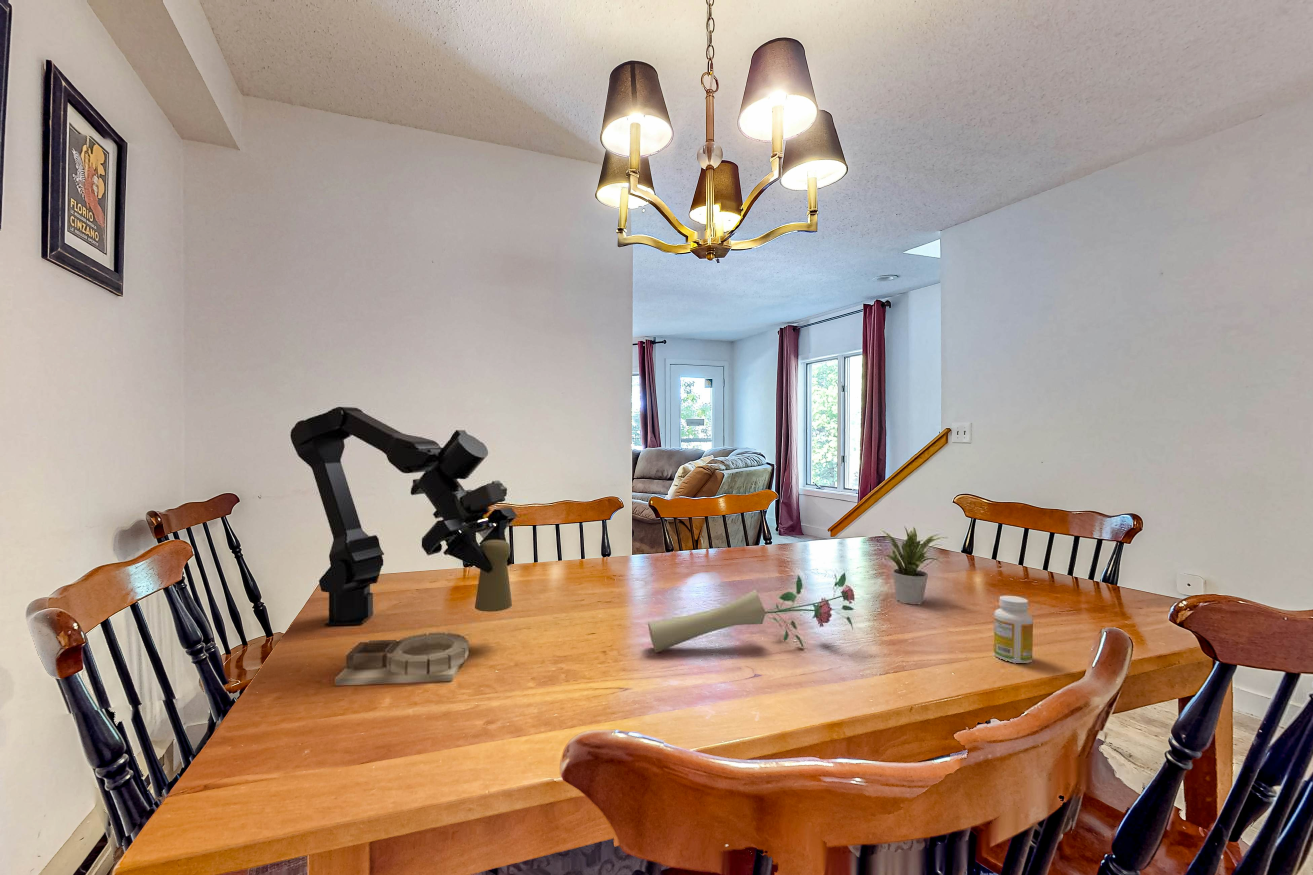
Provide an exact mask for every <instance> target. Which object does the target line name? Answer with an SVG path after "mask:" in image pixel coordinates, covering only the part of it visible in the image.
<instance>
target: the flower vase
mask: <svg viewBox="0 0 1313 875" xmlns="http://www.w3.org/2000/svg"><path fill="white" fill-rule="evenodd" d="M834 577H835V582H834V586H833V588H832V589H833V593H834V594H833V595H835V594H836V591H837V589H838V588H843V587H844V586H845V587H844V588H843V589H842V591H840V595H839V596H836V597H835V596H834V597H832V598H829V599H826V597H821V600H820V601H818V602H813V603H807V604H801V605H797V606H794V604H795V602H796V598H797V596H799V595H800V594H801V593H802V590H803V580H802V578H801V577H800V575H799V574H797V579H796V582H795V585H796V586H795V588H796V590H795V593H794V592H792V591H787V592H785V593H782V595H780V596H779V599H780V600H782V601H783V602H782V603H781V604H780V607H779V605H778V603H777V602H776V603H775V606H776V607H775V608H772V609H769V610H765V607H764V605H763V604H762V601H761V599H760V596H759V594H758V592H757V589H754V590H752V591H750V592H749V593H746V594H745V595H743V596H742V597H740V598H738V599H736V600H733V601H732V602H729V603H728V604H727V603H726V604H724V605H721V606H718V607H714V608H711V609H707V610H703V611H700V612H695V613H692V614H687V615H682V616H675V617H670V618H667V619H660V620H656V621H649V622H648V624H647V627H648V631H649V636H650V640H651V644H652V646H653V651H654V652H655V654H657V653H660V652H661V651H665V650H667V649H670V648H672V647H674V646H677V645H680V644H682V643H684V642H686V641H690V640H692V639H694V638H697V637H700V636H703V635H706V634H710V633H712V632H716V631H719V630H723V629H726V628H730V627H735V626H742V625H743V626H744V625H746V626H747V625H748V626H749V625H763V623H764V620H765V618H766V617H767V618H769V619H770V617H768V615H767V614H775V615H777V616H778V617H779V618H781V620H782V622H784V624H785V632H784V635H783V640H784V642H786V641H787V640H788V638H789V636H790V635H789V634H790V633H792V631H791V630H790V628H789V626H788V624H789V622H787V621H785V620H784V619H783V618H782V617H781V616H780V615H779V614H778V613H789V612H814V614H813V616H812V618H811V619H815V620H816V621H817V625H819V626H818V627H819V628H821V627H822V628H824V624H828V623H830V621H831V618H832V616H833V615H832V613H831V612H832V611H834V612H835V613H836V614H838V615H839V616H841V617H843V618H844V619H846V620H847V622H848V623H849V624H850V626H851V629H852V630H854V627H853V623H852V620H851V617H849V616H847V617H845V616H843V615H842V614H840V613H839V612H837V610H836V609H834V608H832V607H831V603H830V601H833V600H837V599H840V598H842V602H845V601H846V602H848V604H849V605H842V607H841V608H840V609H839V611H854V610H855V608H853V607H852V606H850V604H853V602H855V593H854V592H855V591H854V589H853V588H852V587H851V586H849V585H848V584H846V580H847V577H846V572H843V573H842V574H841V575H840V577H839V579H838V578H837V575H836V574H834ZM837 580H838V581H837ZM835 587H836V589H835ZM784 602H791V603H792V604H791V606H790V607H787V608H786V607H785V608H782V609H781V607H782V605H783V604H784ZM808 606H813V609H812V608H811V609H808V608H803V607H808ZM775 609H776V610H775ZM771 619H772V620H774V621H775V622H777V623H778V625H779V626H780V628H781V629H782V625H781V623H780V622H779V621H778V619H777V618H776V617H775V616H773V617H771ZM790 625H791V626H792V628H793V629H795V630H796V631H797V630H798V627H797V624H796V622H795V620H791V622H790ZM788 630H789V631H788ZM789 632H790V633H789ZM793 636H794V637H795V638H796V640H798V642H799V644H800V645H801V647H803V648H802V650H803V649H804V650H805V647H804V644H803V641H802V638H800V636H799V635H798V634H797V635H796V634H793ZM783 640H782V641H783Z"/></svg>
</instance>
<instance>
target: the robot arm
mask: <svg viewBox="0 0 1313 875" xmlns="http://www.w3.org/2000/svg"><path fill="white" fill-rule="evenodd" d="M351 436H353V437H354V438H356V439H359V440H361V441H362V442H364V443H366V444H368V445H370V446H371V447H373V448H374V449H377V450H379V451H380V452H382V454H385V455H386V458H387V461H388V462H389V463H390V464H391V465H392V466H393V467H394V468H396V469H397V470H398V471H399V472H401V473H402V474H416V473H422V475H421V476H420V477H419V478H414V479H412V486H411V488H410V495H411V496H417V495H423V494H424V495H425V497H426V498H427V499H428V501H429V502H430V503H431V505H432V506H433V507H434V509H435V511H434V512H433V513H432V516H433V517H434V519H436V522H435V523H434V524H433V525H432V526H431V528H429V530H428V531H427V532H426V533H425V534H424V536H422V538H421V548H422V549H423V551H424V552H425V554H426V556H431V555H435V554H439V553H441V552H442V554H444V555H445V556H451V557H453V558H456V559H458V560H460V561H462V562H465V563H466V564H469V565H471V566H472V567H475V568H476V569H479V570H480V569H481V570H483V571H485V572H487V573H490V572H491V571H492V570H493V567H492V565H491V563H490V561H489V560H488V558H487V557H486V555H485V553H484V552H483V550H482V549H481V547H480V545H481V543H483V542H484V541H488V540H503V541H506V542H507V539H506V538H507V537H506V534H505V532H506V529H507V528H508V527H509V526H510V525H511V524H512V523H513V522H514V521H515V519H517V518H518V514H517V513H516V512H515V510H514V509H513V507H507V506H503V507H499V508H494V509H493V510H492V511H491V509H490V507H492V506H494V505H497V504H498V503H503V502H505V501H506V497H507V494H508V492H507V491H508V488H507V487H506V486H505V485H504V484H503V483H502V482H501V481H500V480H492V481H491V482H489V483H487V484H483V485H481V486H479V487H477V488H475V489H465V487H463V485H462V484H461V483H460V481H459V480H467V479H468V478H469V477H470V476H471V475H472V474H473V473H474V472H475V471H476V469H477V468H478V467H479V466H480V465H481V464H482V462H483V461H484V460H485V459H486V458H487V457H488V455H489V451H488V447H487V446H486V445H485V443H484V442H483V441H480V439H477V438H476V437H475V436H473V435H470V434H468V433H467V431H466V430H465V429H462V430H461V429H456V430H455V431H454V432H453V433H452V435H451V436H450V438H449V439H448V441H447V442H446V443H445V444H444V446H443V447H441V445H440V444H439V443H438V442H436V441H435V440H433V439H429V438H425V437H423V436H417V435H410V434H406V433H403V432H401V431H399V430H397V429H396V428H393V427H391V426H389V425H388V424H386V423H384V422H382V421H380V420H378V419H376V418H374V417H373V416H371V415H369V414H367V413H365V412H364V411H363V410H362V409H360V408H358V407H353V406H351V407H350V406H337V407H334V408H331V409H330V410H328V411H326V412H324V413H320V414H318V415H314V416H312V417H308V418H306V419H303V420H299V421H297V422H296V423H295V425H294V427H292V429H291V430H290V440H291V444H292V446H293V448H294V450H295V452H296V455H297V457H299V458H300V459H301V460H302V461H304V463H305V464H307V466H309V468H311V470H312V473H313V477H314V480H315V483H316V486H317V489H318V493H319V497H320V499H321V502H322V506H323V509H324V512H325V515H326V518H327V522H328V525H329V528H330V532H331V535H332V538H333V540H332V544H331V547H330V551H329V555H328V559H329V564H330V566H329V568H327V570H326V571H325V572H324V573H323V575H322V576H321V577H320V578H319V580H318V583H319V587H320V590H321V592H323V593H328V619H327V620H326V621H325V622H324V626H347V625H348V626H349V625H362V624H364V622H366V621H367V620H368V619H369V618H370V617H371V616H373V615H374V593H373V592H371V585H372V584H373V585H374V584H377V583H378V580H379V578H380V574H381V572H382V571H381V570H382V567H383V566H384V557H383V556H384V555H385V552H384V551H383V550H382V547H381V544H380V538H379V537H378V536H377V535H376V534H373V535H368V534H367V533H366V532H365V531H364V530H363V528H362V525H361V524H362V523H361V521H360V518H359V514H358V512H357V508H356V505H355V502H354V499H353V497H352V496H353V495H352V494H351V493H352V492H351V491H350V490H351V489H350V487H349V483H348V480H347V476H346V474H345V470H344V467H343V465H342V461H341V460H342V457H343V453H344V451H345V449H346V448H345V447H346V446H345V444H346V443H345V440H347V439H348V438H350V437H351ZM458 479H459V480H458ZM490 511H491V512H490ZM489 512H490V513H489ZM488 513H489V514H488ZM485 515H486V516H487V515H488V516H487V517H486V518H485V517H484V516H485ZM441 518H442V519H441ZM437 519H440V520H437ZM477 534H478V535H479V536H481V538H482V539H481V541H480V542H478V541H477ZM444 541H445V545H446V547H447V548H446V549H445V550H444V551H442V549H443V544H442V542H444ZM512 563H513V558H512V555H511V554H510V555H509V557H508V559H507V567H509V566H511V565H512Z"/></svg>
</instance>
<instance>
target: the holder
mask: <svg viewBox="0 0 1313 875" xmlns="http://www.w3.org/2000/svg"><path fill="white" fill-rule="evenodd" d="M469 651H470V642H469V640H468V639H467V638H466V637H465V636H464V635H461V634H458V633H454V632H453V633H452V632H447V633H446V632H445V631H444V632H428V634H427V633H422V634H416V635H411V636H410V635H409V636H408V637H404V638H400V639H399V640H397V639H374V640H368V641H359V642H358V643H357V644H356V645H355V646H354V647H353V648H352V649H351V650H350V651H349V652H348V653H347V654H346V655H345V657H346V659H345V661H346V663H345V668H344V669H343V670H342V671H341V672H340V673H339V674H338V675H337V676H336V677H335V679H334V686H336V687H337V686H341V687H342V686H362V685H363V686H365V685H384V684H385V685H386V684H388V685H389V684H410V683H411V684H412V683H434V682H453V681H454V680H455V677H456V675H457V673H458V672H459V669H460V668H461V666H462V664H463V663H464V662H465V661H466V660H467V658H468V656H469Z"/></svg>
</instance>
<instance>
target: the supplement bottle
mask: <svg viewBox="0 0 1313 875" xmlns="http://www.w3.org/2000/svg"><path fill="white" fill-rule="evenodd" d="M998 602H999V603H998V604H999V607H1000V608H997V609H996V610H995V611H994V614H993V615H994V616H993V620H994V621H993V625H994V626H993V655H994V657H996V658H997V657H998V658H997V659H999V658H1000V659H999V660H1001V659H1003V660H1005V661H1004V662H1006V661H1009V662H1008V663H1010V662H1013V663H1012V664H1016V663H1027V664H1030V663H1032V662H1033V643H1034V642H1033V640H1034V637H1033V636H1034V634H1033V633H1034V619H1033V618H1034V617H1033V616H1032V615H1031V613H1029V612H1027V611H1028V610H1029V600H1028V599H1026V598H1024V597H1021V596H1016V595H1015V596H1014V595H1001V596H999V601H998ZM1003 660H1002V661H1003ZM1029 662H1030V663H1029Z"/></svg>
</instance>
